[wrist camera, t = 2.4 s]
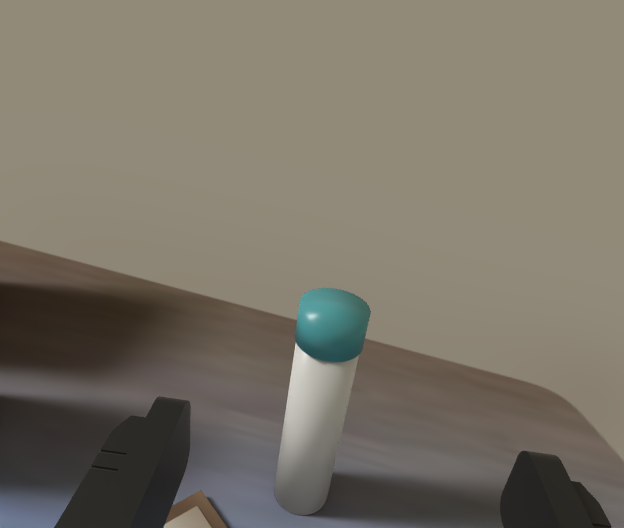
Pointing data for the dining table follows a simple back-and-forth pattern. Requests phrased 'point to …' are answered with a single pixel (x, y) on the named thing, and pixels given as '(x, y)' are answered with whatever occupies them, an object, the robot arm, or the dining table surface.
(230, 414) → the dining table surface
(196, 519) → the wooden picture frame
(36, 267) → the dining table surface
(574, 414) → the dining table surface
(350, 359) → the marker
